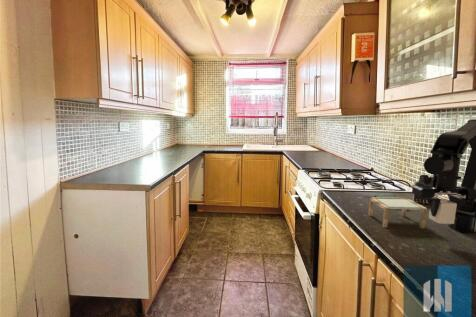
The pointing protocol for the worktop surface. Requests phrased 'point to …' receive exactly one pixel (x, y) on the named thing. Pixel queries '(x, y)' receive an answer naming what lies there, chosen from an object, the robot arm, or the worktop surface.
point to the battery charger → (418, 198)
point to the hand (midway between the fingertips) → (441, 216)
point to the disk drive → (384, 196)
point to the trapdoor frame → (386, 210)
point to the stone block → (445, 212)
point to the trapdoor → (399, 204)
